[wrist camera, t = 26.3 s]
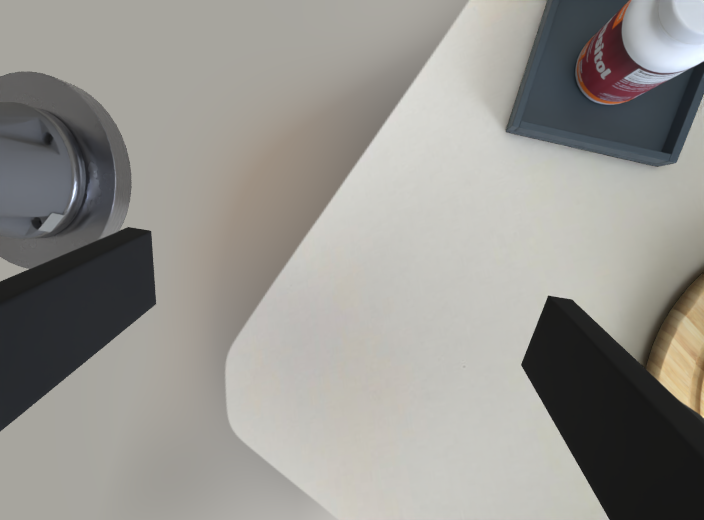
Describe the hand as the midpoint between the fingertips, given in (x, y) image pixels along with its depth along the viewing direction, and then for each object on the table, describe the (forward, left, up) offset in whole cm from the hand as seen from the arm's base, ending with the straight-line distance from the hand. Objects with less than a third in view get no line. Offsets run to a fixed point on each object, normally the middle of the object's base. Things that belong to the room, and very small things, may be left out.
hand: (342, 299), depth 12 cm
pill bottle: (+14, +20, -24) cm, 34 cm away
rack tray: (+14, +20, -24) cm, 34 cm away
